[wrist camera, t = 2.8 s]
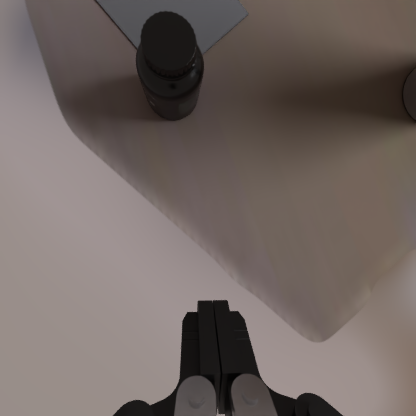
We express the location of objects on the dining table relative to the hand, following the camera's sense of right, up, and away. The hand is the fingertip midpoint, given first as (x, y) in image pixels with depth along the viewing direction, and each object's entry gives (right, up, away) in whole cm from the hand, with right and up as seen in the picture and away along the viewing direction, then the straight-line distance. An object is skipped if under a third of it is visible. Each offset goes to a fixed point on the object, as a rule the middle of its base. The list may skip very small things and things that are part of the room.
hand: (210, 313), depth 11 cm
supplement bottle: (-5, +21, +20) cm, 29 cm away
